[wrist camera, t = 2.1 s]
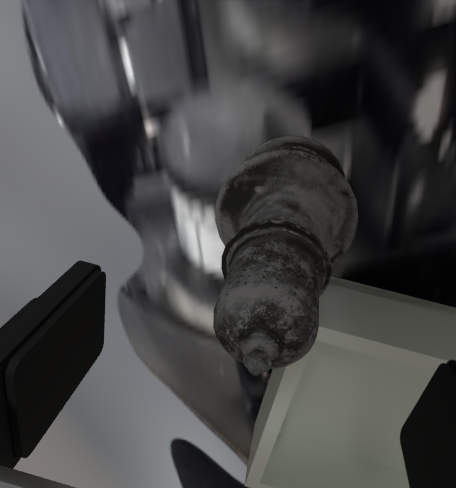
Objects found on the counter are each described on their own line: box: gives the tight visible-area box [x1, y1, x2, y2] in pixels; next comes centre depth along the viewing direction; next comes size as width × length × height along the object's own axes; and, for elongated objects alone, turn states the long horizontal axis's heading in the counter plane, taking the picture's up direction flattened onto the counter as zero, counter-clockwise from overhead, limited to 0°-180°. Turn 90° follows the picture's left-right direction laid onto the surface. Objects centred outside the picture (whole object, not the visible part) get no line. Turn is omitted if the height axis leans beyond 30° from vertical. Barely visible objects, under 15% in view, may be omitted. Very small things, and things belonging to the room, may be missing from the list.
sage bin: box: [245, 276, 456, 488], centre depth 22 cm, size 14×14×4 cm
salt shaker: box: [214, 136, 358, 376], centre depth 14 cm, size 6×6×12 cm
